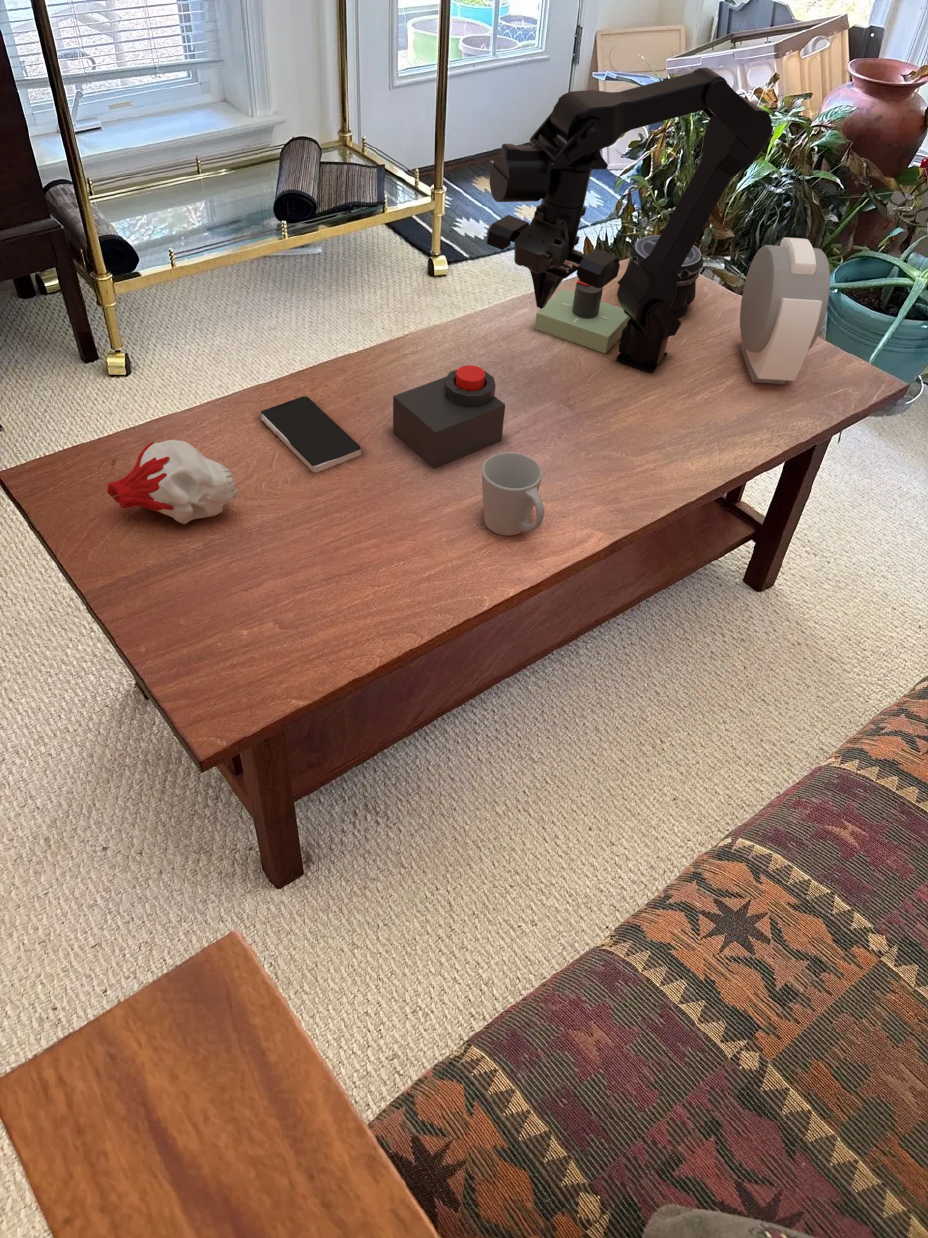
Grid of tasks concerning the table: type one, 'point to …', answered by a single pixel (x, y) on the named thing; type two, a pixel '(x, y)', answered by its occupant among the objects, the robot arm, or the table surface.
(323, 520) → the table surface
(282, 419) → the smartphone
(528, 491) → the cup
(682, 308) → the container
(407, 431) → the button housing
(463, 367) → the power button
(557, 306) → the timer panel
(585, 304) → the timer knob
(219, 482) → the candle
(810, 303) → the alarm clock
